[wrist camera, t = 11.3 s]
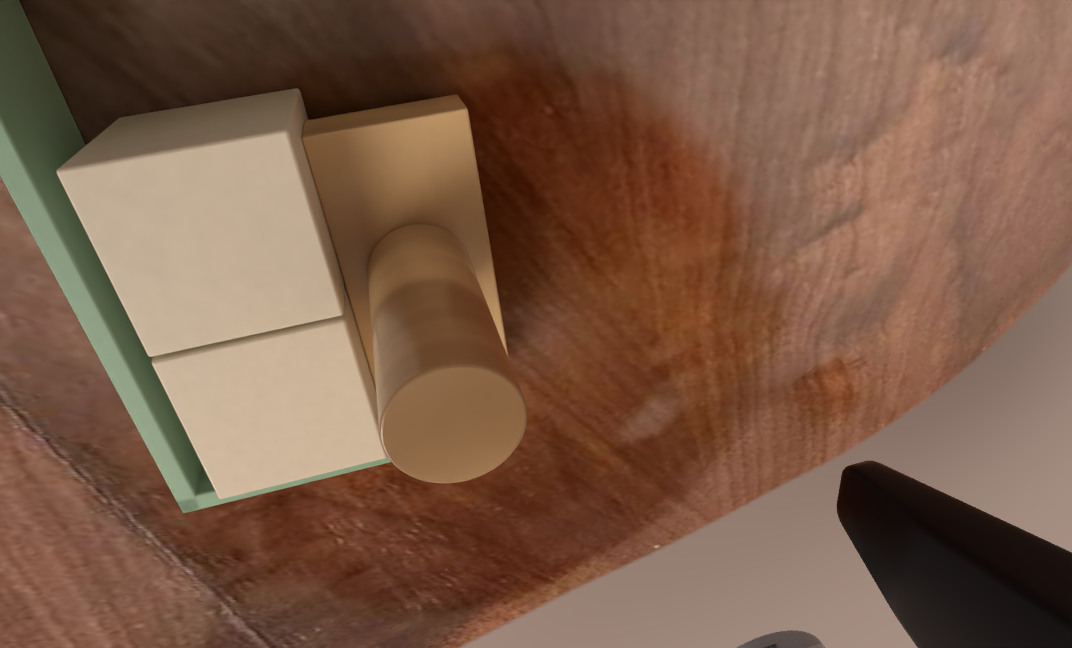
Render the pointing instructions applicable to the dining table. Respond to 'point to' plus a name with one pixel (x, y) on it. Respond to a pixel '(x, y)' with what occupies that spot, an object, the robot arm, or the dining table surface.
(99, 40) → the dining table surface
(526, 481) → the dining table surface
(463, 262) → the stamp
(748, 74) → the dining table surface
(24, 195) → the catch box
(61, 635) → the dining table surface
